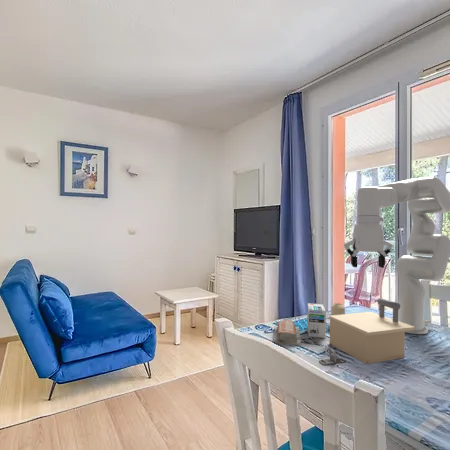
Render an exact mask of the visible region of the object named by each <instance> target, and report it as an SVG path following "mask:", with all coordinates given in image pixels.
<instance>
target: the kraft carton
mask: <svg viewBox="0 0 450 450" xmlns="http://www.w3.org/2000/svg"><path fill="white" fill-rule="evenodd" d="M405 333H406V332H405V331H402V332H394V333H386V334H378V335H370V336H368V335H365V334H363V333H361V332H359V331H356V330H354V329H352V328H350V327H347V326H345V325H343V324H341V323H338V322H336V321H334V320H332V319H330V320H329V344H330V345H332V346H333V347H335V348H337V349H339V350H340V351H343V352H344V353H346V354H347V355H350V356H351V357H353V358H355V359H357V360H358V361H361V363H364V364H366V365H368V364H374V363H381V362H386V361H393V360H399V359H404V358H405V344H406V343H405V342H406V341H405V340H406V337H405V335H406V334H405Z"/></svg>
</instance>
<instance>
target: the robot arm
mask: <svg viewBox="0 0 450 450" xmlns="http://www.w3.org/2000/svg"><path fill="white" fill-rule="evenodd" d="M356 201H357V202H356V203H357V204H356V207H357V208H356V209H357V210H356V211H357V213H356V216H357V218H356V220H357V221H356V224H354V227H353V232H352V240H350V241H348V242H346V243H344V244H343V248H344V249H345V251H346V253H348V255H349V256H350V264H351V267H353V268H358V256H357V255H358V254H359V253H360V252H365V253H366V252H370V253H371V252H377V253H378V259H377V260H378V261H377V262H378V263H377V264H378V267H379V268H382V269H383V268H385V265H386V257H387V255H389V253H390V252H391V250H392V248H393V246H394V245H393V244H392V243H390V242H388V241H386V240H385V239H384V231H383V226H382V224H380V223H381V222H383V221H384V217H381V215H380V214H381V208H390V207H392V206H394V205H397V204H400V203H401V204H403V203H405V202H407V207H408V211H409V214H410V216H411V219H412V226H411V230H410V233H409V237H408V240H407V244H406V250H407V252H408V253H410V254H411V255H410V254H409V255H406V254H405V255H402V256H400V257H399V258H397V261H396V273H397V277H398V278H397V279H398V299H397V300H398V302H397V303H399V304H400V309H399V310H398V321H400V322H402V323H405V324H408V325H411V326H414V327H415V330H410V331H405V333H406V334H412V335H427V334H428V333H429V329H428V328H427V327H426V326H427V325H432V321H431V320H430V319H425V293H426V292H425V287H424V285H423V284H422V282H421V280H424V281H430V282H431V281H432V282H440V281H441V280H443V278H444V276H445V274H446V271H447V267H448V263H449V259H450V237H448V235H445V234H441V233H435V229H436V224H435V222H434V221H433V220H432V219H431V217H430V216H428V214H446V213H449V212H450V191H449V190H448V189H447V187H446V185H445V184H444V183H443V181H442V180H440V179H439V178H438V177H436V176H426V177H417V178H409V179H405V180H400V181H396V182H391V183H387V184H383V185H376V186H362V187H359V188H358V189H357V196H356ZM350 246H351V248H350ZM385 246H386V248H384V247H385Z"/></svg>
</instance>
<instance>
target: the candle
mask: <svg viewBox="0 0 450 450" xmlns="http://www.w3.org/2000/svg"><path fill="white" fill-rule="evenodd" d="M330 309H331V310H330V311H331V313H330V316H332V315H342V314H346V307H345V305H343V304H342V303H340V302H339V303H338V302H334V304H332V305H331V308H330Z"/></svg>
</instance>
